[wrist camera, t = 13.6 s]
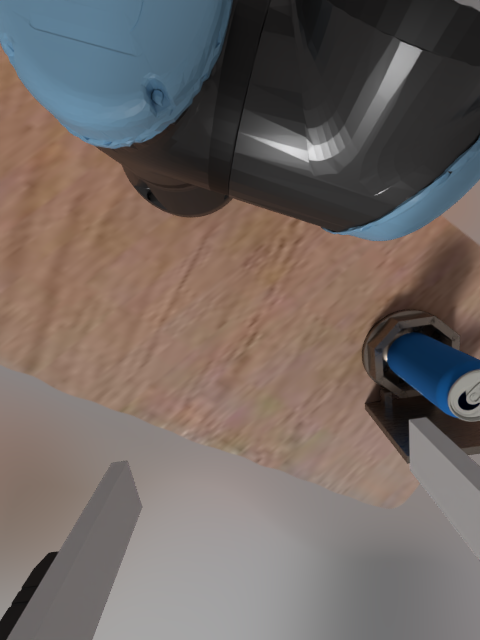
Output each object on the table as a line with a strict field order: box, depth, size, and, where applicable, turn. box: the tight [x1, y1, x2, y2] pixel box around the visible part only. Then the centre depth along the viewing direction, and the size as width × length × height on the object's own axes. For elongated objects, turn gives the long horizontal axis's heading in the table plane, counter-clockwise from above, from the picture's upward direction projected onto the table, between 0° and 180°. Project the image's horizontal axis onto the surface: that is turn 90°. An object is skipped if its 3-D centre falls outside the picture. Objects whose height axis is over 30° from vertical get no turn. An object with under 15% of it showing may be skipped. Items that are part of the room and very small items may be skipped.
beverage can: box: [387, 332, 480, 421], centre depth 33 cm, size 6×6×12 cm
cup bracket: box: [362, 310, 480, 464], centre depth 35 cm, size 14×12×11 cm
